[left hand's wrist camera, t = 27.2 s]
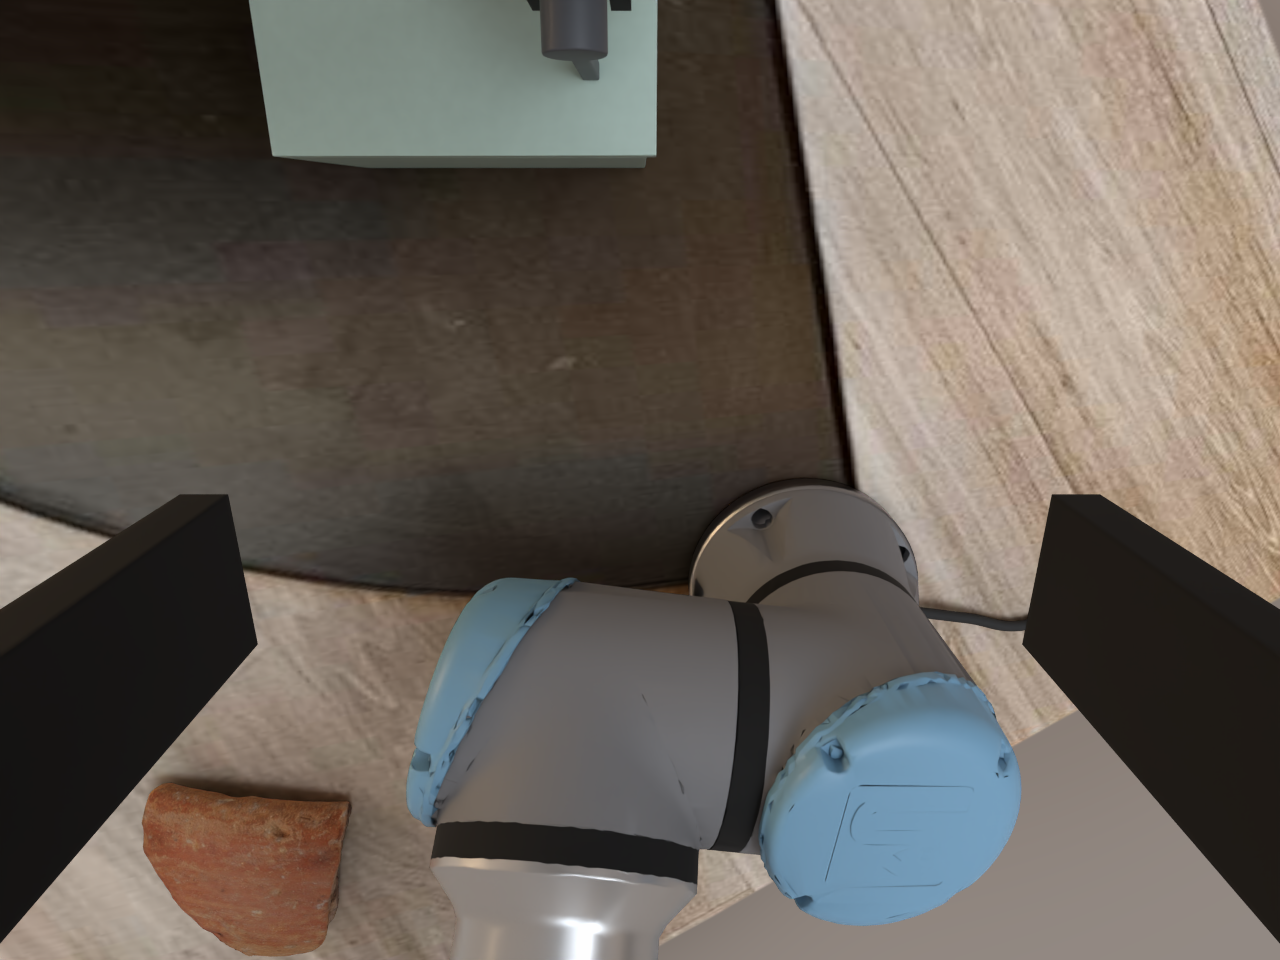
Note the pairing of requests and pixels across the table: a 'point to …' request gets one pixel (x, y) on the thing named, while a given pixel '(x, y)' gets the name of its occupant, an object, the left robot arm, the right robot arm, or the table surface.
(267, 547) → the table surface
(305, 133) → the lid
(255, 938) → the ceramic shard
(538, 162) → the chest
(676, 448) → the table surface
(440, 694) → the left robot arm
